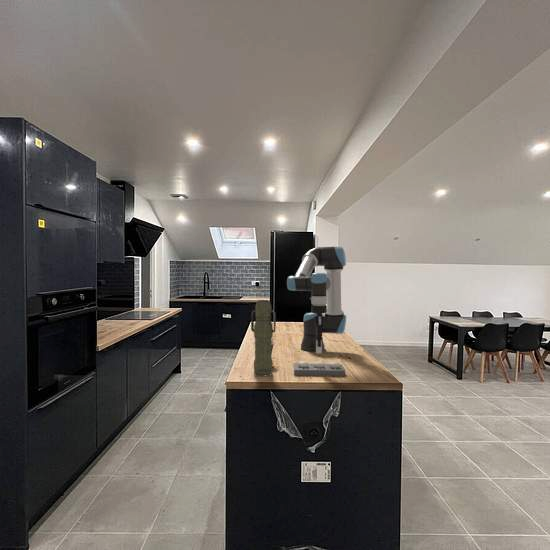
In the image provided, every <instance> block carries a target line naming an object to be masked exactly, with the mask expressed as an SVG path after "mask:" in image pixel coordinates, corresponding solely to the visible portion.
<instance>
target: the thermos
mask: <svg viewBox="0 0 550 550" xmlns="http://www.w3.org/2000/svg"><path fill="white" fill-rule="evenodd" d="M272 313H273V323H272ZM254 315H255V317H254ZM276 315H277V314H276V312H275V310H273V309H272V304H271V302H270V301H269V300H268V299H259V300H257V301H256V304H255V310H254V309H253V310H252V311H251V313H250V323H251V324H250V327H251V329H250V330H251V331H252V332H253V337H254V342H255V343H254V361H253V371H254V372H253V374H254V375H255V374H256V375H255V376H257V375H269V376H271V375H273V359H272V355H271V341H272V338H273V333H276V323H277V322H276V321H277V320H276V319H277V318H276ZM254 318H255V319H254ZM254 322H255V323H254ZM270 374H271V375H270Z"/></svg>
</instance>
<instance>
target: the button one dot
mask: <svg viewBox="0 0 550 550" xmlns="http://www.w3.org/2000/svg"><path fill="white" fill-rule="evenodd" d="M328 364H329V367H331V368H339V364H340V362H339V361H329V363H328Z"/></svg>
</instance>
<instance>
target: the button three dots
mask: <svg viewBox="0 0 550 550" xmlns="http://www.w3.org/2000/svg"><path fill="white" fill-rule="evenodd" d="M313 364H314V367H316V368H323V367H324V364H325V362H323V361H318V360H317V361H313Z"/></svg>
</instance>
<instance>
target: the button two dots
mask: <svg viewBox="0 0 550 550" xmlns="http://www.w3.org/2000/svg"><path fill="white" fill-rule="evenodd" d="M297 364H298V367H302V368H306V367H308V364H309V361H306V360H302V361H301V360H300V361H298V362H297Z"/></svg>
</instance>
